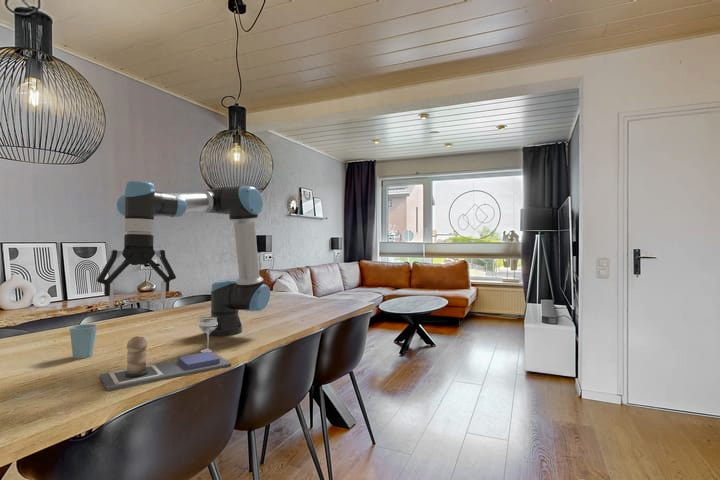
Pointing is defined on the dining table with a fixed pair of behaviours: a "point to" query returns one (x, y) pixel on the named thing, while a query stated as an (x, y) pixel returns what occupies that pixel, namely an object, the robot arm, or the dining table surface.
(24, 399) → the dining table surface
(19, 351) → the dining table surface
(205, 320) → the wineglass
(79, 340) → the cup
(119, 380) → the desk mat
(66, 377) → the dining table surface
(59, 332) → the dining table surface
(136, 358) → the stamp
